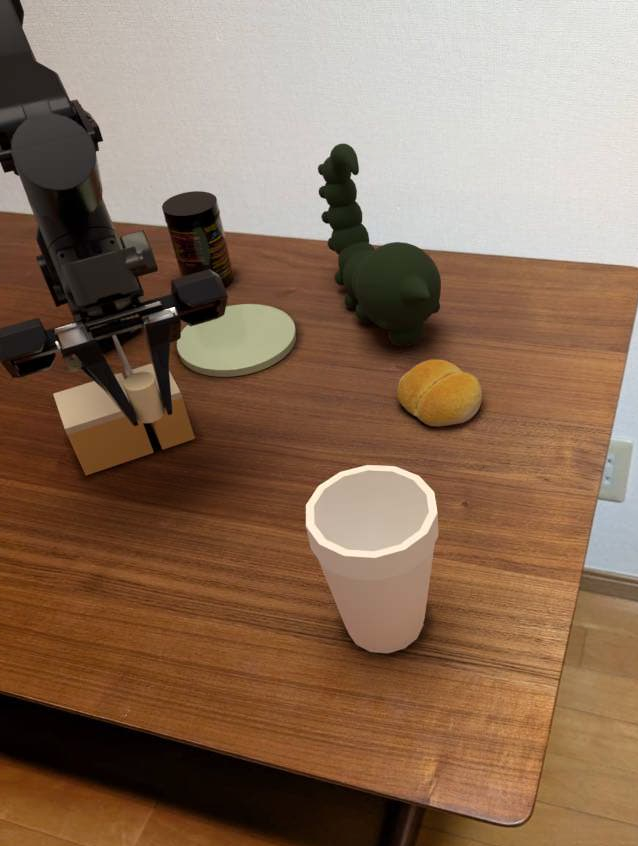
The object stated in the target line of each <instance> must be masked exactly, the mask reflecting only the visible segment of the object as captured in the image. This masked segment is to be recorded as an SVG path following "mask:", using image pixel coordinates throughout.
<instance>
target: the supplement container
mask: <svg viewBox="0 0 638 846" xmlns="http://www.w3.org/2000/svg"><path fill="white" fill-rule="evenodd" d="M161 210H162V213H163V216H164V221H165V223H166V226H167V231H168V233H169V237H170V241H171V246H172V248H173V251H174V256H175V259H176V263H177V266H178V271H179V273H180V277H184V276H187V275H191V274H194V273H198V272H201V271H205V270H209V269H210V270H212V271H213V272H215V273H216V274H218V275H219V277H220V278H221V280H222V282H223V285H224V287H226V286H228V285H229V284H230V282H231V281H232V279H233V277H234V269H233V265H232V262H231V257H230V252H229V248H228V244H227V239H226V234H225V231H224V227H223V222H222V217H221V212H220V208H219V202H218V198H217V197H216V195H215V194H213V193H211V192H207V191H202V190H201V191H200V190H199V191H198V190H196V191H195V190H194V191H187V192H181V193H179V194H175V195H173V196H171V197H169V198H168V199H166V200H164V202H163V203H162V205H161Z"/></svg>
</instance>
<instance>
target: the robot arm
mask: <svg viewBox="0 0 638 846" xmlns="http://www.w3.org/2000/svg"><path fill="white" fill-rule="evenodd" d="M24 19H25V11H24V8H23V5H22V2H21V0H0V166H1V168H2V171H3V173H4V174H7V173H10V172H13V174H14V175H15V176H16V177H17V176H18V177H19V179H20V182H21V184H22V187H23V190H24V192H25V195H26V198H27V201H28V203H29V206H30V208H31V211H32V214H33V216H34V218H35V221H36V230H35V233H36V234H35V239H36V243H37V245H38V248H39V250H40V254H35V258H36V261H37V263H38V266H39V268H40V271H41V273H42V276H43V278H44V281H45V283H46V285H47V289H48V290H49V292H50V293H49V294H50V295H51V298H52V300H53V304H54V305H55V308H59V307H61V306H63V305H67V306H68V308H69V311H70V314H71V316H72V318H73V321H71V322H68V323H65V324H61V325H58V326H55V327H54V326H53V327H50V328H47V329H46V328H45V327H44V325H43V323H42V321H41V319H40V317H35V318H32V319H29V320H28V319H27V320H24V321H21V322H18V323H14V324H10V325H6V326H3V327H0V364H1V366H3V368H4V369H5V370H6V372H7V373H8V374H9V375H10V377H11V378H12V379H21V378H25V377H27V376H31V375H34V374H38V373H42V372H44V371H48V370H51V369H53V365H54V364H55V361H56V359H57V354H56V353H58V352H59V354H60V356H61V357H62V360H63V362H64V363H65V365H66V368H67V369H68V372H70V373H72V372H73V373H75V372H78V371H82V372H84V374H85V375H86V376H88V377H89V378H90V379H91V380H92V382H93V381H94V382H96V383H97V384H98V385H99V386H100V387H101V388H102V389H103V390H104V391H105V392H106V393H107V394H108V396H109V397H110V398H111V399H112V400H113V402H114V403H115V404H116V405H117V406H118V408H119V409H120V410H121V411H122V412H123V414H124V415H125V416H126V417H127V418H128V420H129V421H130V422H131V423H132V425H133V426H137V425H138V421H137V419H136V416H135V414H134V411H133V409H132V406H131V404H130V402H129V401H128V399H127V397H126V395H125V393H124V392H123V390H122V388H121V386H120V384H119V383H118V381H117V379H116V377H115V375H116V374H115V373H114V371H113V370H112V368H111V366H110V364H109V363H108V361H107V359H106V357H105V355H104V353H106V352H107V351H110V350H111V349H113V348H115V347H116V346H115V343H114V341H113V338H112V336H113V335H116V337H117V339H118V341H119V343H120V344H122V343H123V342H125V341H126V340H128V339H130V338H131V337H133V336H134V335H136V334H138V333H140V332H142V328H143V329H144V331H145V337H146V346H147V350H148V353H149V357H150V360H151V364H152V365H153V369H154V372H155V376H156V380H157V384H158V388H159V392H160V395H161V398H162V401H163V404H164V407H165V409H166V412H167V414H168V415H171V414H172V400H171V388H170V375H169V371H170V355H171V354H170V353H171V344H172V343H174V342H177V340H179V339H180V338H181V332H182V323H183V324H185V325H186V326H187V325H189V326H195V325H198V324H201V323H205V322H208V321H211V320H215V319H218V318H220V317H222V316H223V315H224V314H225V309H226V307H227V304H228V299H229V296H228V293H227V291H226V288H225V286H224V285H223V282H222V280H221V278H220V277H219V275H218V274H216V273H215V272H213V271H212V270H210V269H209V270H205V271H201V272H198V273H194V274H191V275H187V276H184V277H181V276H180V277H177V278H173V279H171V281H170V282H171V284H170V289H171V291H170V292H171V293H169V294H166V295H163V296H160V297H156V298H153V299H149V300H145V301H144V299H143V297H144V296H145V294H144V293H145V292H144V289H143V286H142V284H141V281H140V279H139V277H142V276H146V275H149V274H153V273H156V272H158V270H159V268H158V263H157V261H156V258H155V254H154V252H153V249H152V247H151V245H150V242H149V239H148V237H147V235H146V232H145V230H144V229H143V230H138V231H135V232H134V231H133V232H130V233H127V234H123V235H121V236H120V237H119V235H118V232H117V231H116V228H115V226H114V224H113V220H112V218H111V215H110V213H109V211H108V207H107V206H106V202H105V199H104V197H103V193H104V191H103V185H102V178H101V173H100V167H99V162H98V155H97V152H99V151H100V146H99V143H101V142H104V139H103V136H102V132H101V129H100V126H99V124H98V123H97V121H96V120H95V119H94V117H93V116H92V115H91V113H90V112H88V111H87V110H85V109H84V107H83V106H82V104H81V103H80V101H79V100H78V99H77V98H76V99H73V100H71V99H70V96H69V94H68V92H67V89H66V87H65V86H64V84H63V82H62V80H61V77H60V75H59V73H58V72H57V71H55V70H53V69H51V68H49V67H47V66H46V65H44V64H43V63H41V62H39V61H38V60H37V59H36V56H35V54H34V51H33V49H32V47H31V45H30V42H29V39H28V37H27V35H26V32H25V31H24V28H23V27H24Z"/></svg>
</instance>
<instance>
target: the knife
mask: <svg viewBox="0 0 638 846" xmlns="http://www.w3.org/2000/svg"><path fill="white" fill-rule="evenodd" d="M112 338H113V341H114V343H115V346H114V347H115V349H116V352H117V354H118V357H119V360H120V362H121V364H122V369H123V370H124V371H123V372H124V373H125V375H126V378H124V379H125V380H124V382H123V386H124V389H125V391H126V394H127V397H128V400H129V402H130V404H131V406H132V409H133V411H134V414H135V416H136V419H137V421H139V422H141V423H143V424H150V423H152V425H153V426H155V425H156V423H155V421H158V420H159V419H161V418H162V417H163V416H164V414H165V407H164V404H163V401H162V398H161V395H160V392H159V389H158V386H157V383H156V380H155V377H154V376H153V375H152V374H151V373H148V372H138V373H134V374H133V371H132V369H133V368H132V367H131V365H130V363H129V361H128V359H127V357H126V354H125V352H124V350H123V348H122V346H121V343H119V341H118V339H117V337H116V335H113V336H112Z"/></svg>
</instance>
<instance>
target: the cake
mask: <svg viewBox="0 0 638 846" xmlns="http://www.w3.org/2000/svg"><path fill="white" fill-rule="evenodd" d="M114 375H115V377H116V379H117V381H118V383H119V384H120V386H121V388H122V390H123V392H124V393H125V395H126V397H127V394H126V391H125V389H124V386H123V382H124V380H125V379H126V378H125V377H124V374H123V373H122V372H119V373H116V374H114ZM52 396H53V398H54V401H55V404H56V407H57V410H58V413H59V416H60V419H61V423H62V425H63V428H64V431H65V433H66V435H67V437H68V440H69V442H70V444H71V446H72V448H73V451H74V453H75V455H76V458H77V460H78V462H79V464H80V466H81V468H82V470H83V473H84V475H85V476H88V475H92V474H95V473H98V472H101V471H104V470H107V469H109V468H110V469H111V468H112V467H115V466H118V465H122V464H124V463H127V462H130V461H134V460H137V459H139V458H142V457H146V456H148V455H151V454H154V450H153V446H152V443H151V441H150V438H149V436H148V433H147V430H146V427H145V423H141V422H139V421H138V425H137V426H133V425H132V423H131V422H130V421H129V420H128V418H127V417H126V416H125V415H124V414H123V412H122V411H121V410H120V409H119V408H118V406H117V405H116V404H115V403H114V402H113V400H112V399H111V398H110V397H109V396H108V394H107V393H106V392H105V391H104V390H103V389H102V388H101V387H100V386H99V385H98V384H97V383H96V382H94V381H93V380H92V381H89V382H87V383H86V382H85V383H84V384H81V385H76V386H74V387H70V388H68V389H64V390H61V391H57V392H54V393H53V394H52ZM127 399H128V397H127ZM128 401H129V400H128Z"/></svg>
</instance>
